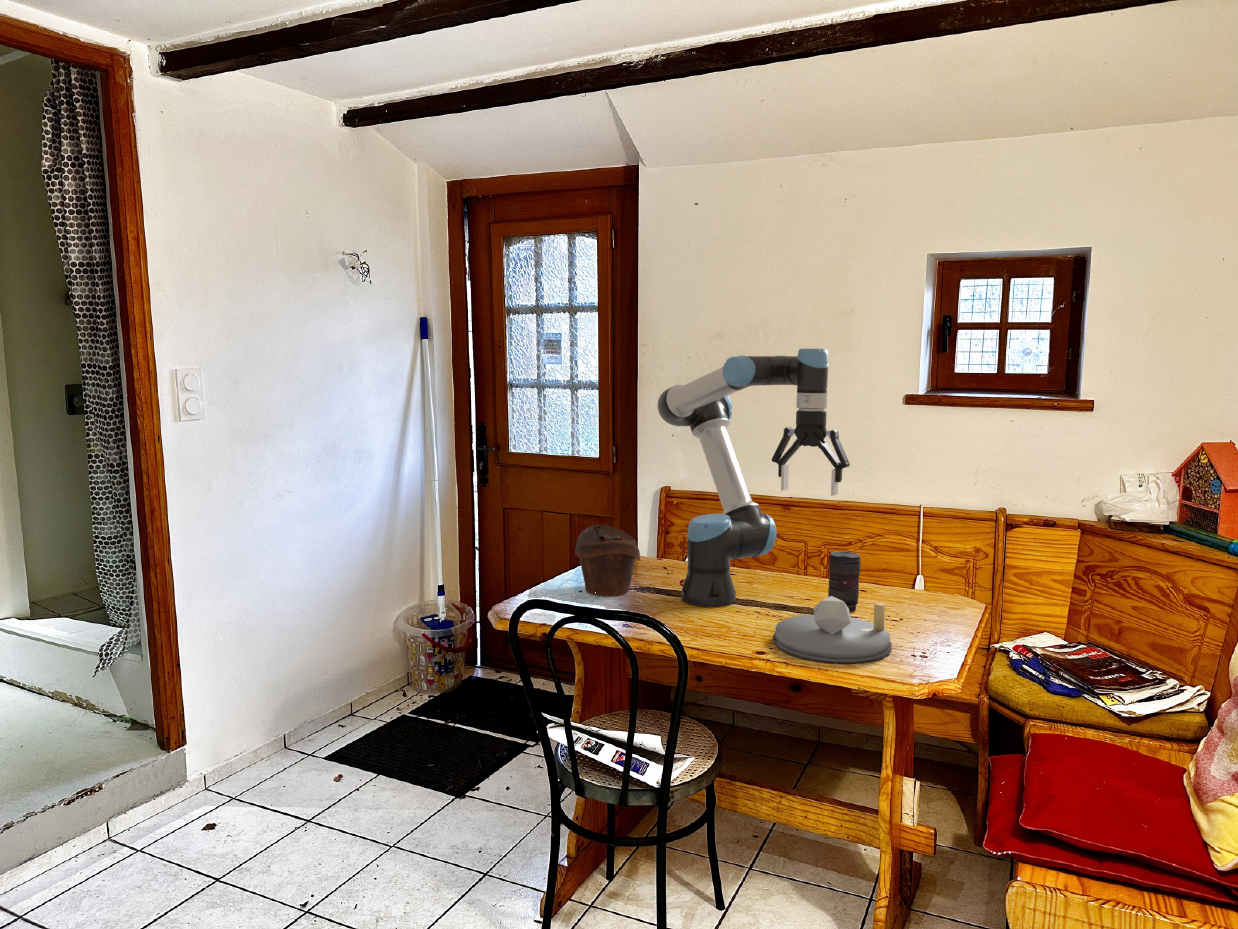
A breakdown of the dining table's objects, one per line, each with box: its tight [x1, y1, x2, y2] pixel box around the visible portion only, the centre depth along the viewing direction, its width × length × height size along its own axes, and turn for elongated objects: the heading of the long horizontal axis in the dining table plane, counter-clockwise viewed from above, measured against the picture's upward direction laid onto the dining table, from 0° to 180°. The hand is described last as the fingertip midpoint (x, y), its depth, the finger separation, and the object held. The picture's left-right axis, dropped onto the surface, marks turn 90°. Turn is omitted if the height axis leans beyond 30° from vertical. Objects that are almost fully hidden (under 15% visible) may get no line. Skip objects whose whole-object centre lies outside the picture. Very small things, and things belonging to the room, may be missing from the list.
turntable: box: [774, 602, 891, 659], centre depth 200 cm, size 26×26×8 cm
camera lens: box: [827, 550, 862, 613], centre depth 228 cm, size 8×8×15 cm
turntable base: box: [772, 632, 893, 665], centre depth 201 cm, size 27×27×1 cm
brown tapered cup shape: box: [574, 524, 641, 597], centre depth 245 cm, size 18×20×18 cm
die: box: [813, 596, 851, 635], centre depth 200 cm, size 8×9×10 cm
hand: (808, 492), depth 219 cm, fingers open, 13 cm apart
